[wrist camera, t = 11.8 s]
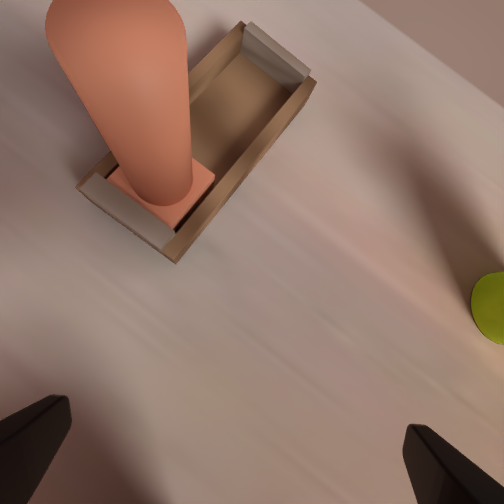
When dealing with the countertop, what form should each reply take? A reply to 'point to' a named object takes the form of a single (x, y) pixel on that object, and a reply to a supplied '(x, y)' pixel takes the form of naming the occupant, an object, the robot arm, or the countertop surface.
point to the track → (218, 131)
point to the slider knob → (135, 96)
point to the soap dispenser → (489, 306)
